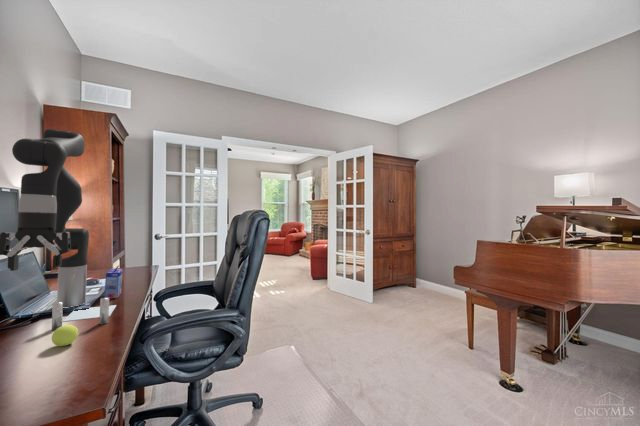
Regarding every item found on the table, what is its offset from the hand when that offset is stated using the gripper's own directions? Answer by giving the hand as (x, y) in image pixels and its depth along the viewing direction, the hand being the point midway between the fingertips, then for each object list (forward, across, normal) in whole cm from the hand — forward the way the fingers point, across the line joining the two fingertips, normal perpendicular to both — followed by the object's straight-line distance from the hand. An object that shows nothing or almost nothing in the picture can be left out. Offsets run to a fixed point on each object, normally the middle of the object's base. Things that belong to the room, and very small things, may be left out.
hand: (35, 269), depth 77 cm
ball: (+22, -5, -6) cm, 23 cm away
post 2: (+24, -12, -23) cm, 35 cm away
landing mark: (+24, -5, -36) cm, 44 cm away
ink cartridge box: (+23, -7, -60) cm, 65 cm away
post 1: (+24, +2, -22) cm, 33 cm away
